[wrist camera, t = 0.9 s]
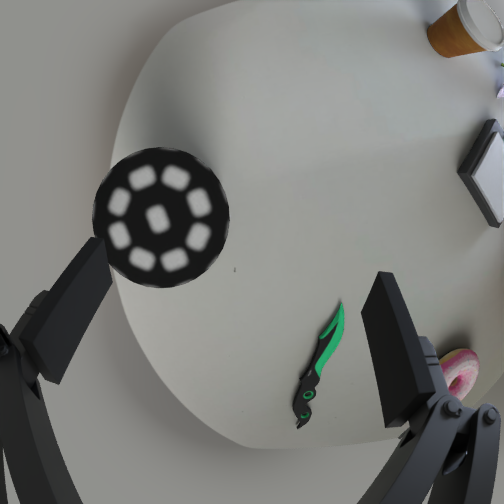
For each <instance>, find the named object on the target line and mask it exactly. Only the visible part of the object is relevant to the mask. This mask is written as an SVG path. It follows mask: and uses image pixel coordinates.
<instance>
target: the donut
mask: <svg viewBox="0 0 504 504" xmlns="http://www.w3.org/2000/svg"><path fill="white" fill-rule="evenodd" d="M439 363H440V364H439V365H440V366H441V369H442V371H443V374H444V377H445V380H446V383H447V386H448V390H449V392H450V395H453V396H455V397H457V398H458V399H459V400H460V401H461V400H462V399H463V398H464V397H465V396H466V395H467V394H468V392H469V391H470V390H471V388H472V386H473V385H474V383H475V381H476V378H477V375H478V371H479V360H478V357H477V355H476V353H475V352H473V351H472V350H470V349H456V350H454V351H451V352H450V353H448V354H446V355H445V356H444V357H442V358H441V359H440V360H439Z"/></svg>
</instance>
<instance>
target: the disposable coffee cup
mask: <svg viewBox="0 0 504 504" xmlns="http://www.w3.org/2000/svg"><path fill="white" fill-rule="evenodd" d="M427 35H428V39H429V41H430V43H431V45H432V47H433V48H434V49H435V50H436V51H437V52H438V53H439V54H440V55H442V56H444V57H447V58H450V57H455V56H460V55H465V54H470V53H476V52H482V51H492V52H497V51H499V50H500V49H501V47H502V46H503V45H504V29H503V26H502V24H501V22H500V20H499V18H498V17H497V15H496V14H495V12H494V11H493V10H492V8H491V7H490V6H489V5H488V4H487V3H486V2H485V1H483V0H459V1H458V2H457V4H455V5H454V6H453V7H452V8H451V9H450V10H448V11H447V12H446V13H445V14H444V15H443V16H441V17H440V18H439V19H438V20H437V21H436V22H435V23H433V24H432V25H431V26H430V27H429V28H428V30H427Z"/></svg>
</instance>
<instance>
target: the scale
mask: <svg viewBox="0 0 504 504" xmlns="http://www.w3.org/2000/svg"><path fill="white" fill-rule="evenodd" d="M457 173H458V175H459V176H460V178H461V179H462V181H463V182H464V184H465V186H466V187H467V189H468V190H469V192H470V193H471V195H472V197H473V198H474V200H475V201H476V203H477V205H478V206H479V208H480V210H481V212H482V213H483V215H484V217H485V218H486V220H487V222H488V224H489V226H492V227H496V228H499V227H500V225H501V223H502V221H503V219H504V131H503V130H502V128H501V126H500V124H499V123H498V121H497V119H491V120H487V121H486V123H485V125H484V127H483V129H482V131H481V133H480V134H479V136H478V138H477V140H476V142H475V143H474V145H473V147H472V149H471V150H470V152H469V154H468V155H467V157H466V159H465V161H464V162H463V164H462V166H461V167H460V169H459V170H458V172H457Z"/></svg>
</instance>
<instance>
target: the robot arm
mask: <svg viewBox="0 0 504 504" xmlns="http://www.w3.org/2000/svg"><path fill="white" fill-rule="evenodd" d="M112 282H113V281H112V277H111V272H110V268H109V263H108V258H107V253H106V248H105V242H104V239H103V238H94V237H90V239H89V240H88V241H87V242H86V244H85V245H84V246H83V247H82V248H81V250H80V251H79V252H78V253H77V255H76V256H75V257H74V259H73V260H72V261H71V263H70V264H69V265H68V267H67V268H66V269H65V270H64V272H63V273H62V274H61V276H60V277H59V278H58V280H57V281H56V282H55V284H54V285H53V286H52V288H51V289H50V291H46V290H43V291H42V292H41V293H39V294H38V295H37V296H36V297H35V298H34V299H33V301H32V302H31V303H30V305H29V307H28V308H27V309H26V311H25V313H24V314H23V315H22V316H21V318H20V319H19V321H18V323H17V324H16V325H15V327H14V329H13V330H12V332H11V333H10V335H9V334H8V332H7V330H6V329H5V327H4V326H3V325H2V324H0V504H8V500H7V493H6V484H5V476H4V475H5V474H4V462H3V449H4V453H5V457H6V461H7V464H8V468H9V471H10V475H11V478H12V481H13V484H14V487H15V490H16V493H17V496H18V499H19V501H20V504H83V503H82V501H81V499H80V497H79V494H78V492H77V490H76V488H75V486H74V484H73V481H72V479H71V477H70V474H69V472H68V470H67V467H66V465H65V462H64V460H63V457H62V455H61V452H60V449H59V446H58V444H57V441H56V438H55V435H54V432H53V429H52V426H51V423H50V420H49V416H48V413H47V409H46V406H45V402H44V399H43V395H42V392H41V387H40V383H39V381H38V379H37V376H38V374H39V372H40V373H41V374H42V376H43V377H44V379H45V380H47V381H50V382H53V383H56V384H58V385H59V384H60V382H61V380H62V377H63V375H64V373H65V371H66V369H67V367H68V365H69V363H70V361H71V359H72V357H73V355H74V353H75V351H76V349H77V347H78V345H79V343H80V341H81V339H82V337H83V335H84V333H85V331H86V329H87V327H88V326H89V323H90V322H91V320H92V318H93V316H94V314H95V313H96V311H97V309H98V307H99V305H100V303H101V302H102V300H103V298H104V296H105V295H106V293H107V291H108V290H109V288H110V286H111V284H112ZM361 315H362V319H363V323H364V327H365V331H366V335H367V340H368V344H369V348H370V353H371V357H372V362H373V366H374V371H375V376H376V380H377V385H378V390H379V396H380V401H381V406H382V412H383V417H384V423H385V428H390V427H401V426H402V425H403V424H405V423H406V422H407V421H408V420H409V425H410V427H409V428H408V429H407V430H406V431H405V432H403V433H402V434H401V435H400V436H399V437H398V438H399V439H401V438H402V439H401V441H400V442H399V444H398V446H397V447H396V449H395V451H394V452H393V454H392V455H391V457H390V458H389V460H388V462H387V463H386V464H385V466H384V467H383V469H382V470H381V472H380V473H379V475H378V476H377V477H376V479H375V480H374V482H373V483H372V485H371V486H370V487H369V489H368V490H367V491H366V493H365V494H364V495H363V496H362V498H361V499H360V500H359V502H358V503H357V504H422V502H423V501H424V499H425V497H426V495H427V494H428V492H429V490H430V488H431V486H432V484H433V487H432V490H431V494H430V497H429V501H428V504H491V499H492V493H493V488H494V481H495V475H496V469H497V461H498V451H499V440H500V424H501V423H500V422H501V419H500V414H499V411H498V410H497V408H496V407H495V406H493V405H492V404H489V403H486V404H483V405H482V406H481V407H480V408H478V409H473V408H469V407H464V406H463V405H462V403H461V402H460V400H459V399H458V398H457V397H455V396H453V395H450V392H449V390H448V386H447V383H446V380H445V377H444V374H443V371H442V369H441V366H440V365H439V364H440V363H439V360H438V357H436V356H437V355H436V352H435V349H434V347H433V345H432V343H431V342H430V341H429V340H428V338H427V337H424V336H418V335H417V332H416V330H415V327H414V324H413V322H412V319H411V317H410V314H409V311H408V309H407V306H406V304H405V301H404V299H403V297H402V294H401V292H400V289H399V287H398V285H397V282H396V280H395V278H394V275H393V273H390V272H381V271H378V274H377V276H376V279H375V281H374V283H373V286H372V288H371V291H370V293H369V295H368V298H367V300H366V302H365V304H364V307H363V309H362V311H361Z"/></svg>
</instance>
